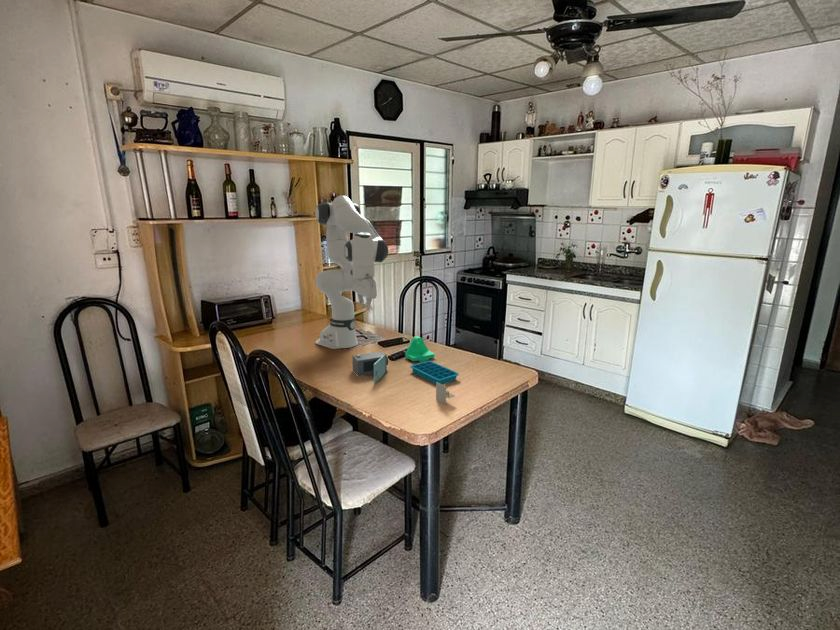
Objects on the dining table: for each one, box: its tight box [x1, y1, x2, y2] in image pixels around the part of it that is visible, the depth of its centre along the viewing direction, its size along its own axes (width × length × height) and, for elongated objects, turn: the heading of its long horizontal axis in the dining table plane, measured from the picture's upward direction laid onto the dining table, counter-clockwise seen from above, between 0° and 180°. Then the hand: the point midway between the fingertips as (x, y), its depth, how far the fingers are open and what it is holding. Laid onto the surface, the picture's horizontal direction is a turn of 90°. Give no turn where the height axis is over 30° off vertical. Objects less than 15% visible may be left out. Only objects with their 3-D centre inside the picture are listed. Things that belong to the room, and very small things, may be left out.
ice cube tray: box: [409, 360, 460, 385], centre depth 186 cm, size 12×20×3 cm, turn 38°
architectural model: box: [435, 382, 456, 405], centre depth 161 cm, size 3×7×7 cm, turn 36°
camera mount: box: [404, 335, 435, 363], centre depth 205 cm, size 12×8×10 cm, turn 121°
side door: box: [373, 353, 387, 384], centre depth 182 cm, size 13×1×8 cm, turn 165°
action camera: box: [351, 351, 389, 377], centre depth 190 cm, size 15×7×8 cm, turn 117°
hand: (364, 305), depth 183 cm, fingers open, 7 cm apart
